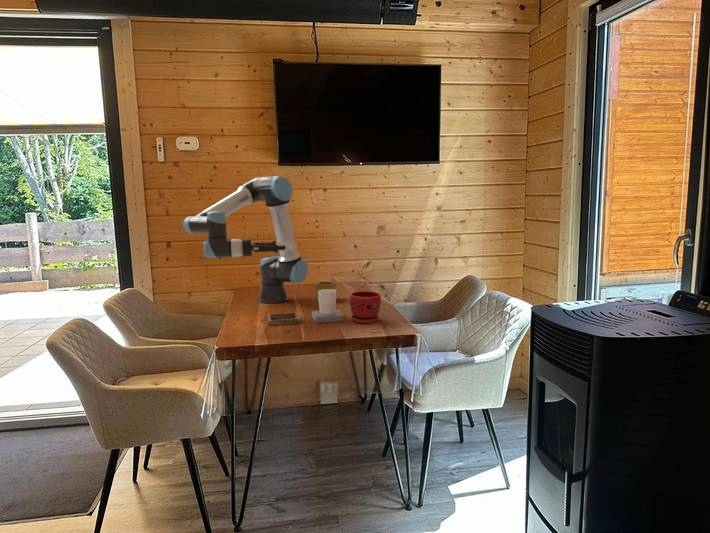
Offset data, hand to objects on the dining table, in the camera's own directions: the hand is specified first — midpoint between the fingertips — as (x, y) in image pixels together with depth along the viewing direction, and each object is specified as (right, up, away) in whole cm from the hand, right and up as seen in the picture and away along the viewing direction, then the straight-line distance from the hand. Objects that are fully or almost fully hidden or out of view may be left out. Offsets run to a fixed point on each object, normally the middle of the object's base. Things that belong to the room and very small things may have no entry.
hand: (291, 245), depth 210 cm
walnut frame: (-3, -33, -2) cm, 33 cm away
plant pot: (+32, -33, -5) cm, 46 cm away
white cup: (+16, -30, 0) cm, 33 cm away
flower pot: (+12, -27, +42) cm, 51 cm away
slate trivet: (+16, -32, 0) cm, 36 cm away
